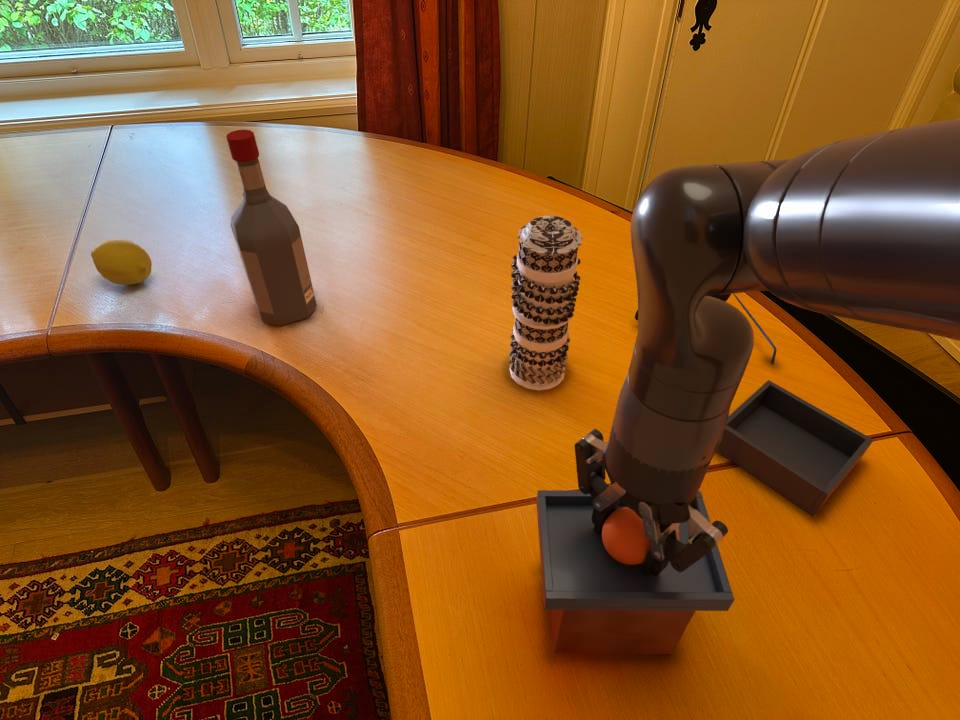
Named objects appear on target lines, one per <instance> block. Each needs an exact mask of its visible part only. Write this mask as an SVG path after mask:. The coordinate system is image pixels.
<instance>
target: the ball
mask: <svg viewBox="0 0 960 720" xmlns="http://www.w3.org/2000/svg"><path fill="white" fill-rule="evenodd" d="M602 540H603V544H604V546H605V549H606V550H607V552H608V553H609V554H610V555H611V556H612V557H613V558H614V559H615V560H617V561H619V562H621V563H624V564H627V565H636V564H641V563H643V562H644V561H645V559H646V556H647V553H648V551H649V550H650V549H651V548H650V540H649V539H647V538H645V534H644V527H643V520H642V519H641V518H640V517H639V516H638V515H637V514H636V513H635V512H634V511H633V510H632V509H630V508H628V507H624V508H620V509H618V510H615V511H614V512H612V513H611V514H610V515H609V516H608V517H607V519H606V520H605V522H604V525H603V528H602Z"/></svg>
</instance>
